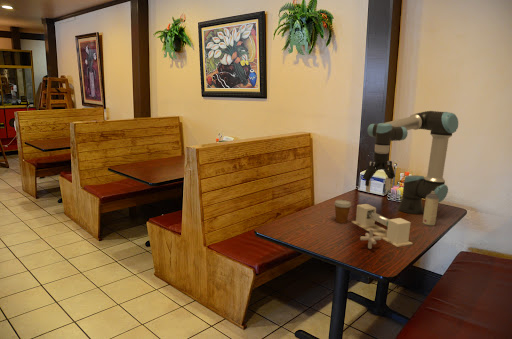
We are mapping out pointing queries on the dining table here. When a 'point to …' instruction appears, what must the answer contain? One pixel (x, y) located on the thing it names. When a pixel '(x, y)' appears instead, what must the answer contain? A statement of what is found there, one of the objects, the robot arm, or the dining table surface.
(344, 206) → the disposable coffee cup
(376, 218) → the tube
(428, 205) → the aerosol can
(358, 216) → the sleeve
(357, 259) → the dining table surface
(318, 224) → the dining table surface
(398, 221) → the socket
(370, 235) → the pipe connector
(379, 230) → the board
